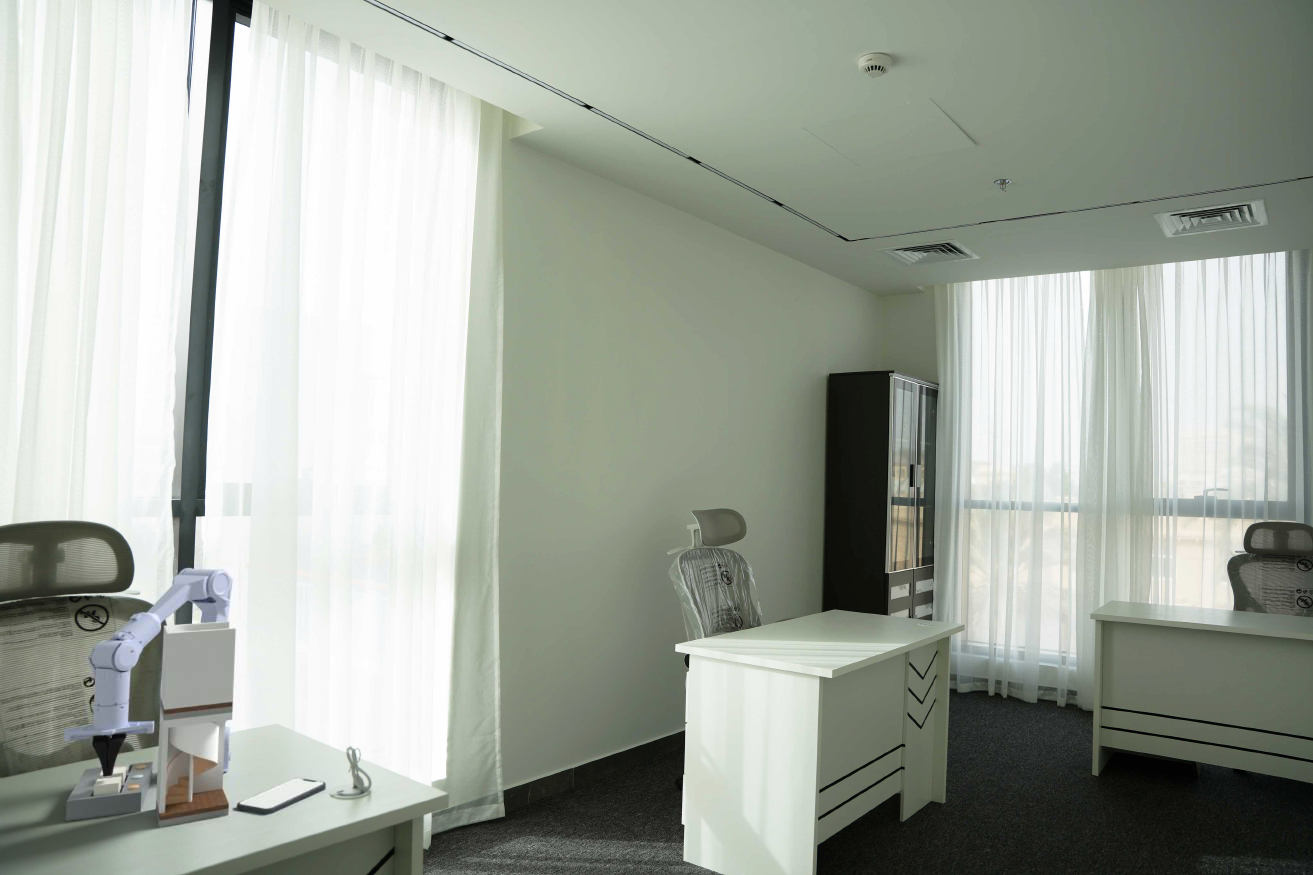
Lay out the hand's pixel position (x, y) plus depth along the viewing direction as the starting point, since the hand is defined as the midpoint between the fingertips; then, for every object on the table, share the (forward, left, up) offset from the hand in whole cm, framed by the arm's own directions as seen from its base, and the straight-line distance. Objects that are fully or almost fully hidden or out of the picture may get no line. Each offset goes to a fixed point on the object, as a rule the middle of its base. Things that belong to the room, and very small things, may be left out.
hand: (108, 774), depth 164 cm
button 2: (0, -13, -6) cm, 14 cm away
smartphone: (-31, +7, -7) cm, 32 cm away
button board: (0, -7, -7) cm, 9 cm away
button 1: (0, 0, -4) cm, 4 cm away
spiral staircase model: (-15, +8, -7) cm, 18 cm away
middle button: (0, -7, -4) cm, 8 cm away
